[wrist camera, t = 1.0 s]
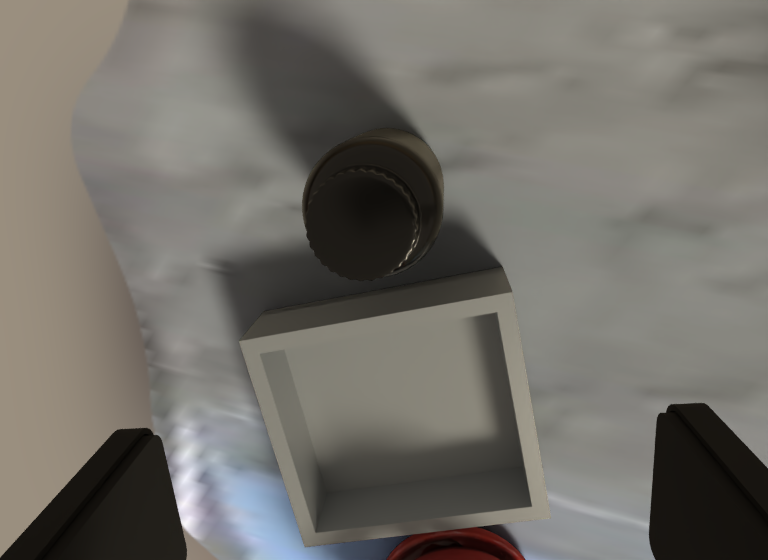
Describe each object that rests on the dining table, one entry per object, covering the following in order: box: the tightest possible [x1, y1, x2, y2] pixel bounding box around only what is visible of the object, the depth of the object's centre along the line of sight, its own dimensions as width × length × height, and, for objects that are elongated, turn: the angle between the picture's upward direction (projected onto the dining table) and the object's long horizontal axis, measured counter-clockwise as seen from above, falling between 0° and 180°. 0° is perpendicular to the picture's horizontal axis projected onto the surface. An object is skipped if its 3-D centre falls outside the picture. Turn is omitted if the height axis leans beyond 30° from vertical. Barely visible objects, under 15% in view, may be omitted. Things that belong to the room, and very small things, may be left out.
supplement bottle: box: [302, 128, 444, 281], centre depth 29 cm, size 7×7×12 cm
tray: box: [239, 267, 551, 547], centre depth 37 cm, size 16×15×5 cm
